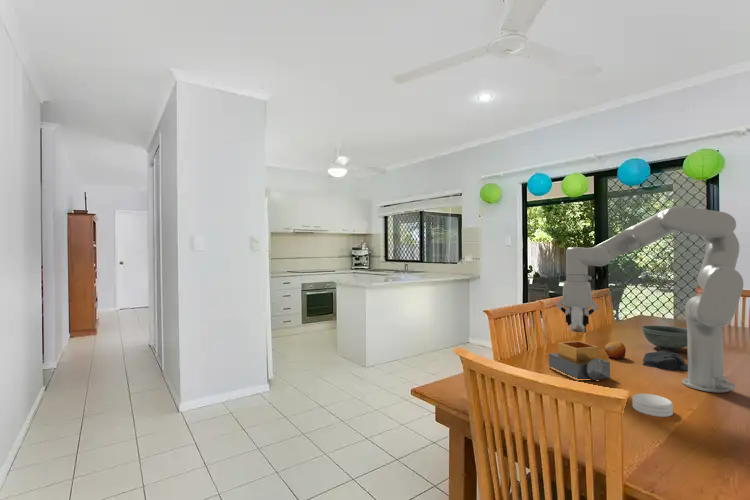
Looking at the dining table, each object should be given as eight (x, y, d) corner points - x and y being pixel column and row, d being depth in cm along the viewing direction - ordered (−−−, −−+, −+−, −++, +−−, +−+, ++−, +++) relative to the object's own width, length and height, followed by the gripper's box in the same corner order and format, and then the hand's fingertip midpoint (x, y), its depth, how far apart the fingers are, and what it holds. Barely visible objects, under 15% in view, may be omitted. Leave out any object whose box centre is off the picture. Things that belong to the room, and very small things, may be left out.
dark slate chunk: (686, 360, 168) (686, 349, 168) (690, 373, 150) (690, 361, 150) (643, 355, 177) (643, 344, 177) (642, 367, 159) (642, 355, 159)
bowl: (651, 353, 177) (651, 331, 177) (635, 342, 197) (635, 323, 197) (706, 356, 171) (705, 333, 171) (683, 345, 191) (683, 324, 191)
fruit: (634, 356, 168) (624, 340, 168) (618, 366, 168) (609, 350, 168) (623, 351, 176) (613, 336, 176) (608, 360, 176) (598, 345, 176)
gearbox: (614, 379, 143) (614, 349, 143) (581, 383, 140) (581, 352, 140) (578, 365, 161) (578, 339, 161) (549, 368, 158) (548, 341, 158)
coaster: (634, 401, 123) (634, 390, 123) (673, 409, 117) (673, 397, 117) (630, 412, 116) (630, 400, 116) (672, 421, 109) (672, 408, 109)
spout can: (587, 331, 149) (587, 299, 149) (576, 332, 148) (576, 300, 148) (577, 329, 155) (577, 298, 155) (566, 329, 153) (566, 298, 153)
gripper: (601, 278, 151) (602, 325, 151) (553, 277, 159) (553, 321, 159) (602, 280, 144) (602, 329, 144) (552, 278, 152) (552, 325, 152)
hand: (577, 324), depth 151 cm, fingers closed on spout can, 5 cm apart
